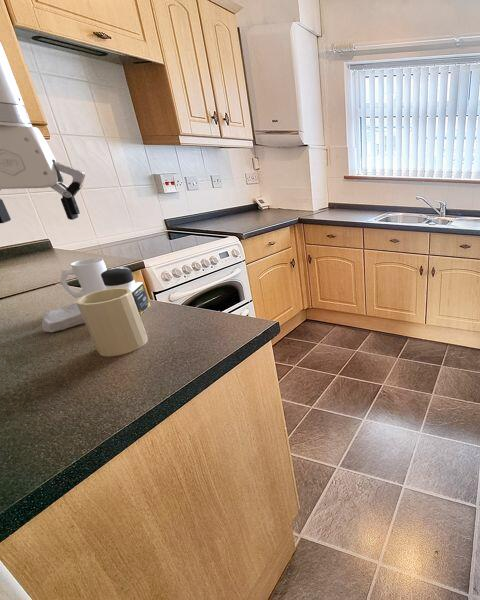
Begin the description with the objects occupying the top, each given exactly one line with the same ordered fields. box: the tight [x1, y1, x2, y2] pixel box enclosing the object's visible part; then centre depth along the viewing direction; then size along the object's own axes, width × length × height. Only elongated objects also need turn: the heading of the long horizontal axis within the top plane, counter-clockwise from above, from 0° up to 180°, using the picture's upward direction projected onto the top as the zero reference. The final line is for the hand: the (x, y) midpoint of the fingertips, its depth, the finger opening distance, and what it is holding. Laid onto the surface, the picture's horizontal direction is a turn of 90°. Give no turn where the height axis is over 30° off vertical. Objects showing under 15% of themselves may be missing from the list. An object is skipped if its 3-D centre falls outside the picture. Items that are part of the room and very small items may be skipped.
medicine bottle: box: [101, 267, 151, 316], centre depth 87 cm, size 7×7×12 cm
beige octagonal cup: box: [75, 288, 149, 357], centre depth 72 cm, size 9×9×12 cm
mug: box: [60, 257, 108, 299], centre depth 93 cm, size 10×7×12 cm, turn 131°
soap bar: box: [41, 302, 85, 333], centre depth 83 cm, size 10×6×6 cm, turn 144°
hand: (40, 220), depth 63 cm, fingers open, 9 cm apart
